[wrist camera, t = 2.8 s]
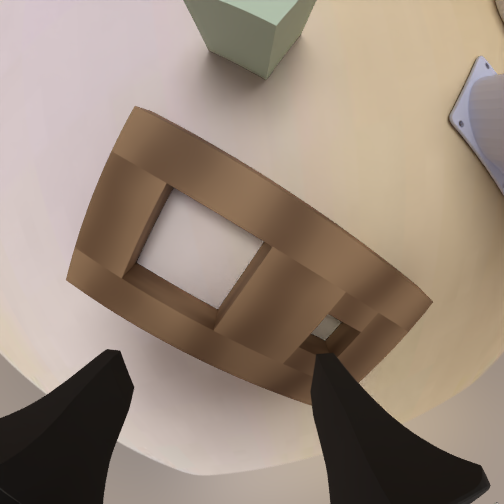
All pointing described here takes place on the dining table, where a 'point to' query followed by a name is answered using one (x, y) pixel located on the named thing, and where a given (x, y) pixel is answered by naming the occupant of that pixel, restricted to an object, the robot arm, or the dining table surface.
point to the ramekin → (500, 8)
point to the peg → (250, 29)
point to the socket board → (255, 275)
